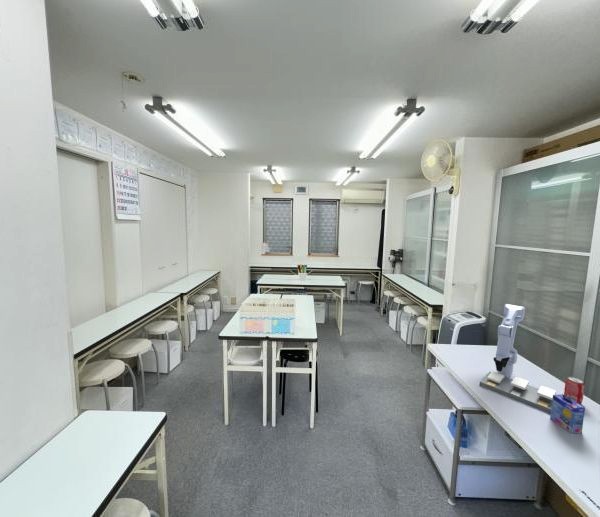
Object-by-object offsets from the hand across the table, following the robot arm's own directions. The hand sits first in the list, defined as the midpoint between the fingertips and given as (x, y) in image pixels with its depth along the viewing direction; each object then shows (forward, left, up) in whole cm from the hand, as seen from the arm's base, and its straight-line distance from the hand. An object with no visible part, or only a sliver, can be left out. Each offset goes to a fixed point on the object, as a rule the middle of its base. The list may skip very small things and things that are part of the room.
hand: (501, 368), depth 156 cm
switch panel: (+1, +9, -9) cm, 13 cm away
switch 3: (0, +20, -5) cm, 21 cm away
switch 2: (0, +9, -5) cm, 10 cm away
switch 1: (0, -2, -7) cm, 7 cm away
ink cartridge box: (+16, +29, -10) cm, 35 cm away
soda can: (-12, +29, -10) cm, 33 cm away
